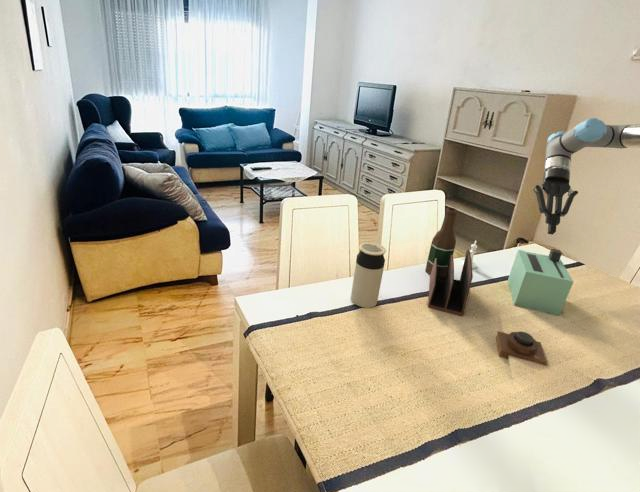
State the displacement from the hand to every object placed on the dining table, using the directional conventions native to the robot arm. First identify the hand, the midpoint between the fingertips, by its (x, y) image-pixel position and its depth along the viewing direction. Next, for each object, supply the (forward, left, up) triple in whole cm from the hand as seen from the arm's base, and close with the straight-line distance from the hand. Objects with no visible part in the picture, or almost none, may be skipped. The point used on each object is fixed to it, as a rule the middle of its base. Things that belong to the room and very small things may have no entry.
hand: (551, 232), depth 128 cm
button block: (+11, +47, -18) cm, 51 cm away
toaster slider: (0, +10, -5) cm, 11 cm away
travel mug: (+52, +42, -18) cm, 70 cm away
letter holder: (+29, +27, -18) cm, 44 cm away
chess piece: (+21, +1, -18) cm, 28 cm away
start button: (+11, +47, -14) cm, 50 cm away
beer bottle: (+32, +13, -18) cm, 39 cm away
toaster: (+3, +15, -18) cm, 23 cm away
